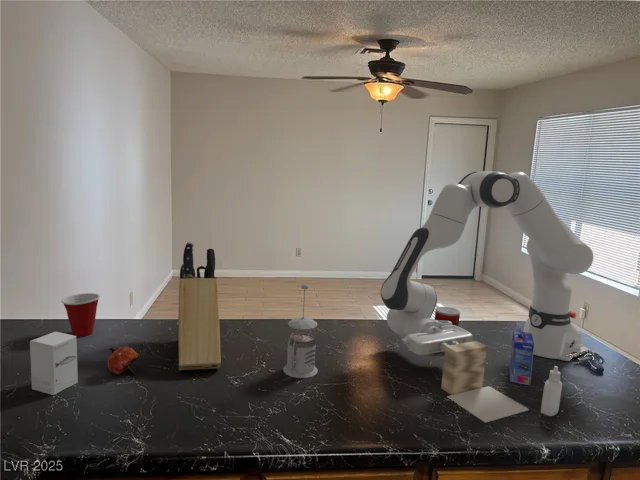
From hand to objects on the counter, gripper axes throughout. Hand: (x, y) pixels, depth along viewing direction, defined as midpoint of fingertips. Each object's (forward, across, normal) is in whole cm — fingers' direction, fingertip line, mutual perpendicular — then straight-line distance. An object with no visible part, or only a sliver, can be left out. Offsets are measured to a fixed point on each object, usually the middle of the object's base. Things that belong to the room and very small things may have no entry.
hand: (459, 351), depth 131 cm
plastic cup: (-72, -90, +9) cm, 115 cm away
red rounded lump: (-38, -81, +10) cm, 90 cm away
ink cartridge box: (+3, +21, +10) cm, 23 cm away
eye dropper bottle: (+20, +12, +10) cm, 25 cm away
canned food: (-26, +19, +10) cm, 33 cm away
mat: (+11, 0, +10) cm, 15 cm away
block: (+2, 0, +10) cm, 10 cm away
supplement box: (-36, -97, +9) cm, 104 cm away
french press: (-23, -37, +10) cm, 44 cm away
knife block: (-47, -60, +10) cm, 77 cm away
